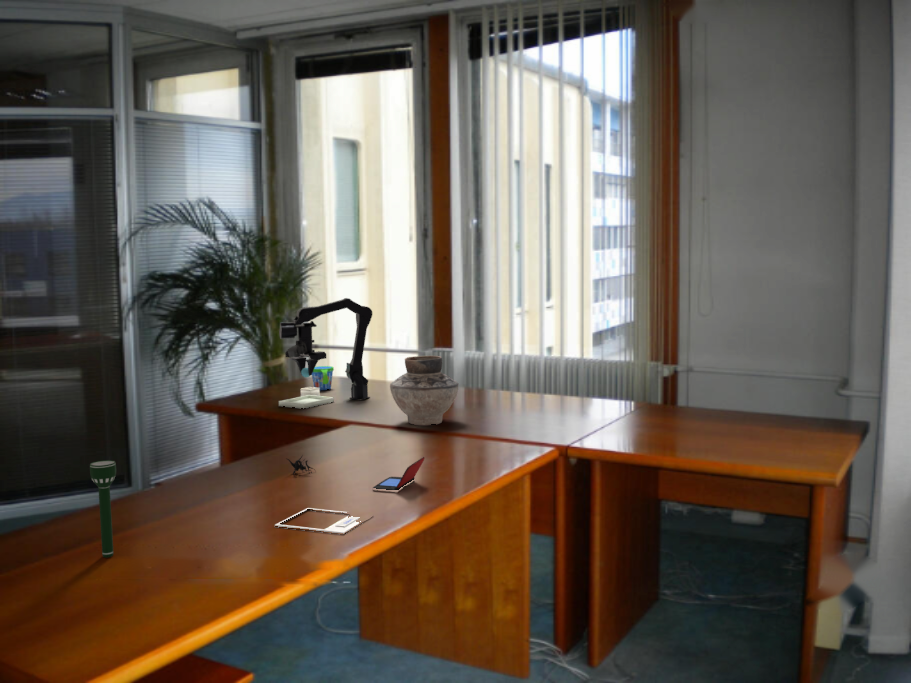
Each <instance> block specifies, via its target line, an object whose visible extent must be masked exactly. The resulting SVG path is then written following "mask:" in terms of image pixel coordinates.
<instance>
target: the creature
mask: <svg viewBox="0 0 911 683" xmlns="http://www.w3.org/2000/svg"><path fill="white" fill-rule="evenodd" d="M302 458H303V454H302V455H301V456H300V458H299V459H297V460H295V462H293V461H292V460H291V459H288V458H286V460H287V461H288V462H289V463H290V465H291V466H292V467H293V468H294V470H293V473H292V475H293V476H294V477H295V476H296V475H295V474H296V472H297V471H298V472H299V469H300V471H302V472H307V473H308V474H309V475H311V474H313V472H312V470H314V471H316V469H315V468H313V467H311V466H309V465H308V460H306V458H304V459H303V461H301V459H302ZM304 463H305V466H304ZM294 473H295V474H294Z"/></svg>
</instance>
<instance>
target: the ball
mask: <svg viewBox="0 0 911 683" xmlns="http://www.w3.org/2000/svg"><path fill="white" fill-rule="evenodd" d="M301 374H302V375H301ZM300 375H301V376H302V377H303V378H309V377H310V376H309V373H308V367H305V368H304V369H303V370H302V371H301V372H300Z"/></svg>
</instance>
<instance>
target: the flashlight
mask: <svg viewBox="0 0 911 683" xmlns="http://www.w3.org/2000/svg"><path fill="white" fill-rule="evenodd" d="M116 464H117V463H116V461H115V460H112V459H107V460H105V459H102V460H96V461H93V462H91V463H90V464H89V475H90V478H91V481H93V483H94V484H95V485H96V486H97V487H98V502H99V503H98V504H99V518H100V520H99V521H100V537H101V553H102V554H101V555H102V557H103V558H106V559H108V558H112V557H113V556H114V541H113V540H114V539H113V538H114V537H113V524H112V523H113V520H112V505H111V504H112V502H111V485H112V483H113V482H114V480H115V477H116V476H117V465H116Z"/></svg>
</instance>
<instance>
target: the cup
mask: <svg viewBox="0 0 911 683" xmlns="http://www.w3.org/2000/svg"><path fill="white" fill-rule="evenodd" d="M320 392H321V390H320V388H316V387H314V386H313V387H312V386H306V387H302V388H300V397H301V396H306V395H315V396H321V394H320Z"/></svg>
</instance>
